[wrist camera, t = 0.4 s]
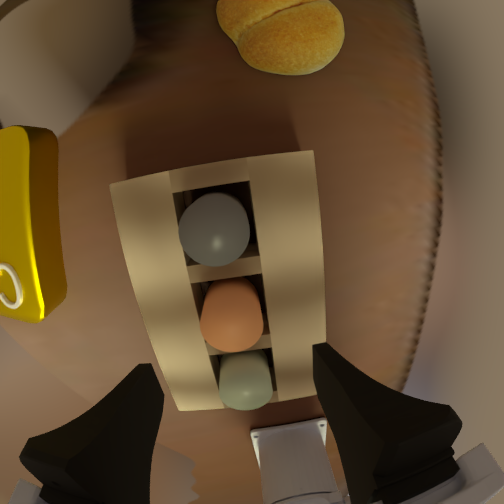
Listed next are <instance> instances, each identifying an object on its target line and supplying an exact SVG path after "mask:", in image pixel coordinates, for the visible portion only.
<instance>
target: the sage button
mask: <svg viewBox="0 0 504 504" xmlns="http://www.w3.org/2000/svg"><path fill="white" fill-rule="evenodd" d="M272 394H273V389H272V383H271V377H270V371H269V365H268V359H267V356H266V354H265V352H264V351H263V350H262V349H257V350H250V351H242V352H234V353H226V354H223V355H222V357H221V363H220V381H219V397H220V399H221V400H222V402H223V403H224V404H226V405H227V406H229V407H231V408H233V409H237V410H253V409H257V408H259V407H262V406H263V405H265V404H266V403H267V402H268V401H269V400H270V399H271V397H272Z"/></svg>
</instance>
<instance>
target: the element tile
mask: <svg viewBox="0 0 504 504" xmlns="http://www.w3.org/2000/svg"><path fill="white" fill-rule="evenodd" d="M56 138H57V137H56V135H55V134H54V133H53V131H51V130H49V129H46V128H39V127H30V126H21V125H14V126H10V127H7V128H3V129H0V315H1V316H5V317H8V318H12V319H16V320H20V321H24V322H28V323H38V322H41V321H43V320H44V319H45V318H46V317H47V316H48V315H49V314H50V313H51V312H52V311H53V310H54V309H55V308H56V307H57V306H59V305H60V304H61V303H62V302H63V300H64V299H65V298H66V293H67V282H66V275H65V269H64V262H63V254H62V245H61V235H60V223H59V206H58V152H59V151H58V143H57V139H56Z"/></svg>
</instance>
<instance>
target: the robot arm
mask: <svg viewBox="0 0 504 504" xmlns="http://www.w3.org/2000/svg"><path fill="white" fill-rule="evenodd" d="M312 355H313V381H314V384H315V388H316V392H317V395H318V398H319V401H320V403H321V406H322V408H323V411H324V413H325V415H326V418H327V420H328V422H329V425H330V427H331V430H332V432H333V434H334V437H335V440H336V443H337V447H338V450H339V454H340V458H341V462H342V466H343V470H344V474H345V478H346V482H347V487H348V491H349V496H350V497H349V496H347V497H345V498H343V500H344V503H343V500H342V497H341V493H340V491H338V489H337V486H336V482H335V479H334V476H333V472H332V469H331V465H330V462H329V459H328V455H327V452H326V449H325V440H326V427H327V420H326V418H318V419H314V420H309V421H304V422H299V423H293V424H287V425H281V426H275V427H268V428H260V429H253V430H251V431H250V434H251V438H252V442H253V446H254V449H255V453H256V457H257V460H258V464H259V467H260V472H261V482H262V492H263V502H264V504H485V503H486V502H488V501H489V500H490V499H491V498H492V497H493V496H495V495H496V494H497V493H498V492H499V491H500V490H501V489H502V488H504V472H503V471H502V469H501V468H500V466H499V465H498V463H497V462H496V460H495V459H494V458H493V456H492V455H491V453H490V452H489V450H488V449H487V447H486V446H485V445H484V443H481V444H479V445H478V446H476V447H475V448H473V449H471V450H470V451H468V452H467V453H465V454H463V455H462V456H461V457H459V458H458V459H457V460H456V461H455V460H454V458H453V455H454V450H453V449H452V447H451V446H452V444H453V442H454V441H455V439H456V438H457V436H458V434H459V432H460V430H461V428H462V421H461V420H460V418H459V417H458V415H457V414H456V412H455V411H454V410H453V409H452V408H451V407H450V406H449V405H445V404H439V403H433V402H428V401H424V400H420V399H417V398H414V397H411V396H408V395H405V394H403V393H400V392H398V391H395V390H393V389H391V388H389V387H387V386H385V385H383V384H381V383H379V382H377V381H375V380H374V379H372V378H370V377H369V376H367V375H366V374H364V373H363V372H362V371H360V370H359V369H357V368H356V367H355V366H353V365H352V364H351V363H350V362H348V361H347V360H346V359H345V358H344V357H342V356H341V355H340V354H339V353H338V352H337V351H335V350H334V349H333V348H332V347H331V346H330V345H329V344H328V343H326V342H324V343H319V344H313V345H312ZM163 405H164V393H163V391H162V388H161V386H160V384H159V381H158V379H157V377H156V374H155V372H154V369H153V367H152V364H151V363H147V364H138V365H137V366H136V367H135V368H134V369H133V370H132V371H131V372H130V373H129V374H128V375H127V376H126V377H125V378H124V379H123V380H122V381H121V382H120V383H119V384H118V385H117V386H116V387H115V388H114V389H113V390H112V391H111V392H110V393H108V394H107V395H106V396H105V397H104V398H103V399H102V400H101V401H99V402H98V403H97V404H96V405H95V406H93V407H92V408H91V409H89V410H88V411H86V412H85V413H84V414H82V415H81V416H79V417H77V418H76V419H74V420H72V421H71V422H69V423H67V424H65V425H63V426H61V427H59V428H57V429H55V430H52V431H50V432H47V433H45V434H41V435H38V436H35V437H32V438H29V439H28V441H27V443H26V445H25V447H24V448H23V450H22V452H21V454H20V456H19V458H20V461H21V462H22V464H23V465H24V466H25V468H26V469H27V470H28V471H29V472H31V473H32V474H33V475H34V476H35V477H36V478H37V479H38V480H39V481H40V482H41V483H42V484H43V487H42V489H41V488H40V487H38V486H36V485H34V484H32V483H30V482H28V481H26V480H23V479H21V478H20V479H19V481H18V483H17V485H16V487H15V489H14V492H13V494H12V496H11V498H10V501H9V503H8V504H150V472H151V462H152V454H153V449H154V445H155V441H156V437H157V433H158V429H159V425H160V421H161V417H162V413H163Z"/></svg>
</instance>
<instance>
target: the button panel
mask: <svg viewBox="0 0 504 504" xmlns="http://www.w3.org/2000/svg"><path fill="white" fill-rule="evenodd" d="M242 181H248V186H249V193H250V200H251V207H252V215H253V222H254V229H255V236H256V243H250V244H248V245H247V247H246V249H245V250H244V252H243V253H242V254H241V256H240V257H238V258H237V259H236V260H235V261H233V262H231V263H229V264H227V265H224V266H217V267H211V266H206V265H202V264H200V263H198V262H196V261H194V260H193V259H192V258H190V257H189V256H188V255H187V253H186V252H185V251H184V249H183V247H182V245H181V243H180V240H179V234H178V229H179V223H180V219H181V217H182V215H183V213H184V212H185V205H184V199H183V193H182V191H186V190H192V189H198V188H203V187H209V186H215V185H222V184H228V183H235V182H242ZM109 186H110V192H111V197H112V202H113V208H114V213H115V217H116V222H117V227H118V231H119V236H120V240H121V244H122V248H123V252H124V256H125V260H126V264H127V268H128V271H129V275H130V279H131V282H132V286H133V289H134V292H135V296H136V299H137V302H138V305H139V308H140V312H141V315H142V318H143V321H144V324H145V327H146V330H147V332H148V335H149V338H150V341H151V344H152V346H153V349H154V352H155V354H156V357H157V360H158V362H159V365H160V367H161V370H162V372H163V375H164V377H165V379H166V382H167V384H168V387H169V389H170V391H171V394H172V396H173V398H174V400H175V403H176V405H177V407H178V409H179V411H189V410H208V409H222V408H231V407H229V406H227V405H226V404H224V403H223V402H222V400H221V399H220V397H219V381H220V365H219V361H218V357H217V354H226V353H234V352H225V351H221V350H218V349H216V348H214V347H213V346H211V345H210V344H209V343H208V342H207V341H206V340H205V339H204V337H203V336H202V333H201V330H200V320H201V315H202V310H203V305H204V299H203V295H202V291H201V286H200V282H204V281H212V280H219V279H226V278H233V277H240V276H247V275H253V274H260V273H261V280H262V288H263V295H264V302H265V310H266V313H262V319H263V332H262V335H261V337H260V338H259V340H258V341H257V342H256V343H255V344H254V345H253V346H251V347H250V348H248V349H246V350H243V351H250V350H257V349H264V348H270V347H271V355H272V363H273V367H272V368H269V371H270V377H271V383H272V389H273V394H272V397H271V399H270V400H269V401H268V402H267V403H273V402H279V401H285V400H291V399H297V398H302V397H307V396H312V395H317V392H316V388H315V384H314V381H313V355H312V345H313V344H319V343H324V342H326V310H325V281H324V261H323V245H322V231H321V218H320V207H319V196H318V187H317V177H316V168H315V160H314V152H313V150H310V151H299V152H288V153H279V154H270V155H261V156H253V157H246V158H239V159H232V160H225V161H219V162H213V163H207V164H201V165H195V166H190V167H185V168H179V169H174V170H169V171H165V172H160V173H155V174H151V175H146V176H142V177H137V178H133V179H129V180H125V181H121V182H117V183H113V184H109ZM239 352H242V351H239Z"/></svg>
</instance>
